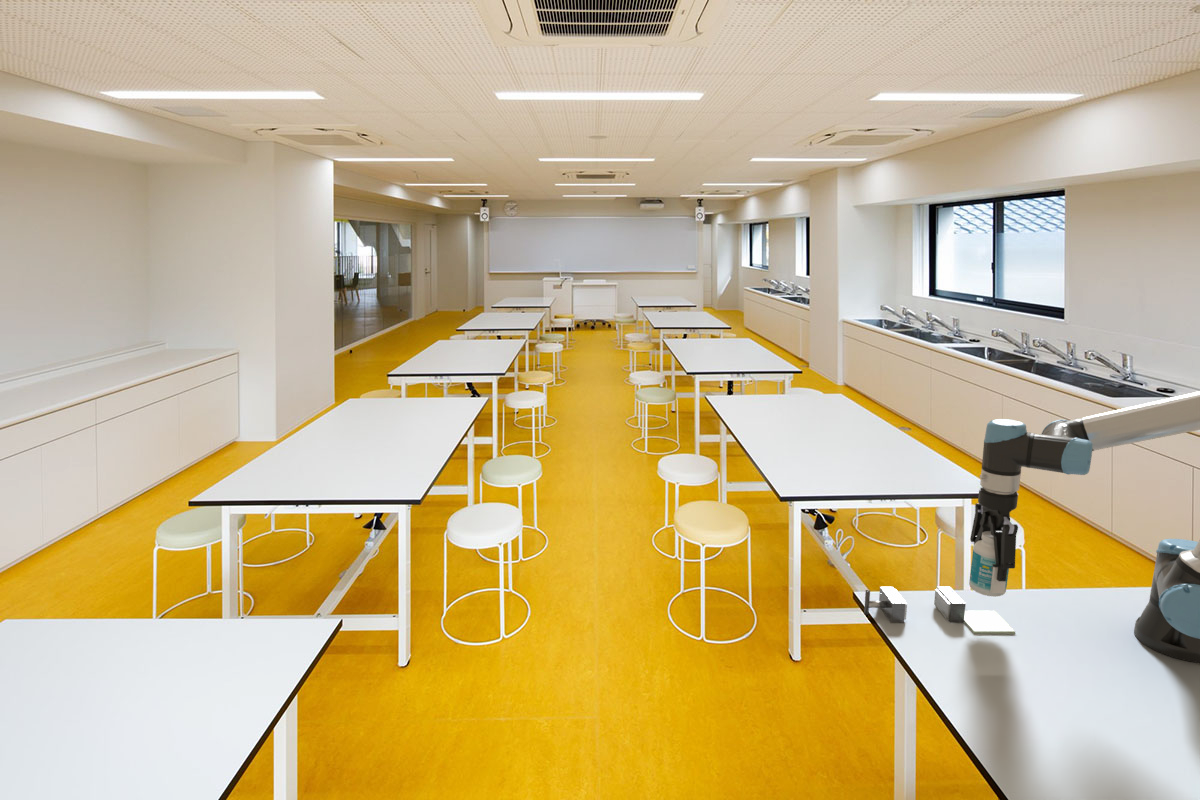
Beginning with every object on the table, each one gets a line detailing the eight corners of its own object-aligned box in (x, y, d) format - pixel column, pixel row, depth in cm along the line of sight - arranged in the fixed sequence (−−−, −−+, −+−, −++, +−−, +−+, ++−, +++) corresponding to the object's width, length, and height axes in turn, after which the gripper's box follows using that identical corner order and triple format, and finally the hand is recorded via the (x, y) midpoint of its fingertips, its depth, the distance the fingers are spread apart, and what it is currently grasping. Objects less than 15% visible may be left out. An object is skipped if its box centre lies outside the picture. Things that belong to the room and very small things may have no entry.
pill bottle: (975, 596, 153) (981, 541, 150) (964, 581, 160) (969, 527, 157) (1011, 599, 152) (1018, 542, 149) (998, 583, 159) (1004, 529, 156)
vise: (947, 609, 166) (950, 582, 165) (963, 626, 158) (966, 599, 157) (858, 609, 167) (860, 582, 166) (869, 626, 159) (871, 599, 158)
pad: (994, 612, 162) (994, 610, 162) (1015, 633, 153) (1015, 631, 153) (955, 612, 163) (955, 610, 162) (974, 633, 154) (974, 631, 154)
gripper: (960, 474, 161) (951, 563, 166) (1005, 506, 141) (994, 606, 146) (992, 474, 161) (982, 563, 166) (1043, 505, 141) (1030, 606, 146)
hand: (988, 583), depth 156 cm, fingers closed on pill bottle, 7 cm apart
